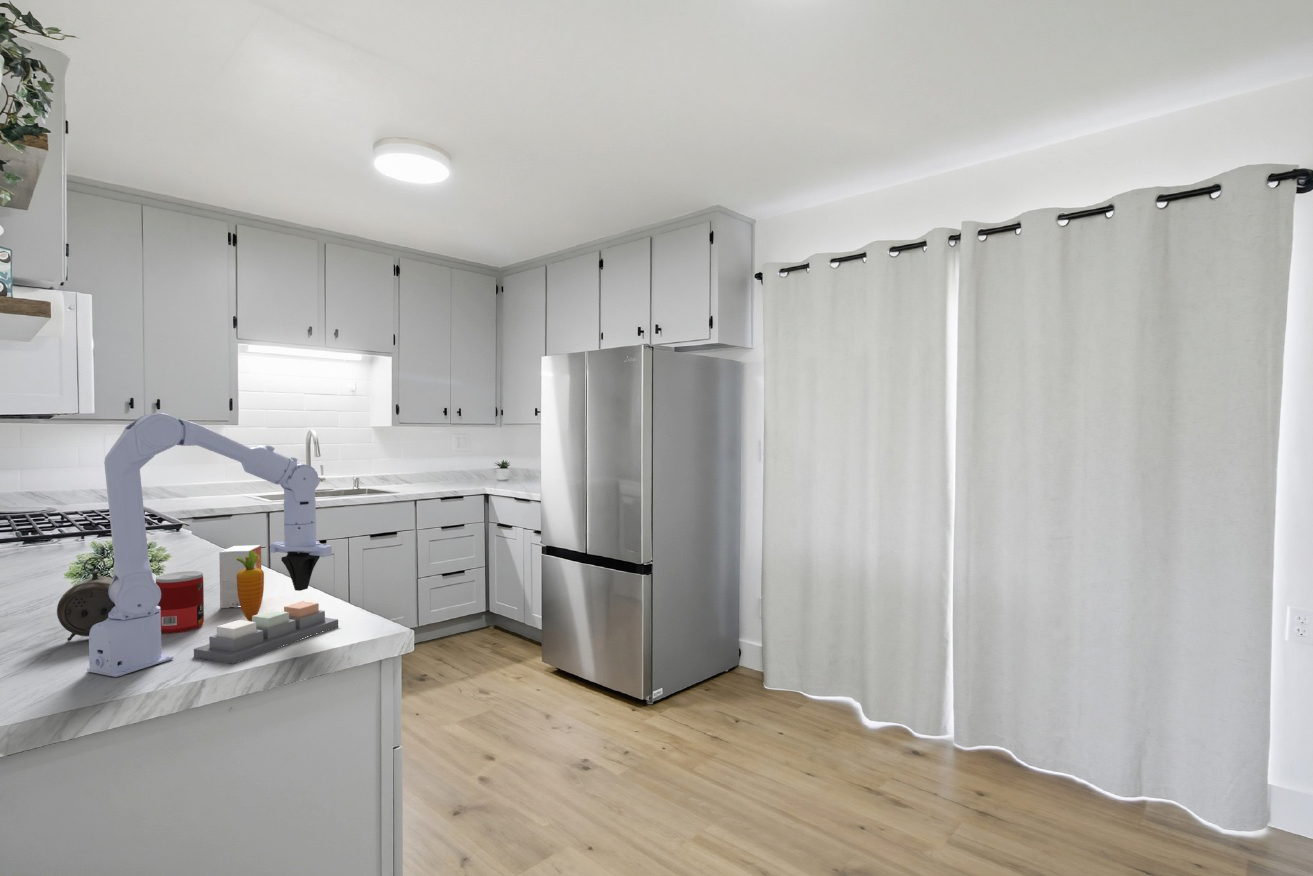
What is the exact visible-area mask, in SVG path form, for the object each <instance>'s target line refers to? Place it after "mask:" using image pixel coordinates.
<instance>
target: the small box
mask: <svg viewBox="0 0 1313 876" xmlns="http://www.w3.org/2000/svg"><path fill="white" fill-rule="evenodd" d="M249 551H254V554H257V555H258V557H257V559H256V561H255V564H254V568H259V569H262V545H261V544H255V545H250V544H249V545H233V546H230V547H228V548H225V549H224V550H222V551H220V552H219V605H220V606H219V609H230V608H229V607H234V608H239V607H238V606H240V602H239V598H238V591H237V573H238V572H239V571H241V570H243V569H246V568H245V566H244V565H243V564H242V563H241V562H240V561H238V560H236V559H237V558H238V557H239V558H242V559H243V560H244V561H246V559H245V556H248V557H249ZM249 559H250V557H249Z"/></svg>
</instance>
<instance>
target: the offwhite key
mask: <svg viewBox="0 0 1313 876" xmlns="http://www.w3.org/2000/svg"><path fill="white" fill-rule="evenodd" d="M254 632H256V622H251V621H248V620H243V619H238V620H234V621H231V622H227V623H224V624H221V625H217V626H216V634H217V637H223V638H229V639H235V638H239V637H242V636H245V635H248V634H251V633H254Z"/></svg>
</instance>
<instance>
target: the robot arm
mask: <svg viewBox="0 0 1313 876" xmlns="http://www.w3.org/2000/svg"><path fill="white" fill-rule="evenodd" d="M176 446H182V447H183V446H184V447H185V446H192V447H193V446H194V447H195V446H198V447H201V448H203V449H206V450H208V451H210V452H214V453H216V454H217V455H218V454H219V455H221V456H224V457H226V458H228V459H231V460H234V461H237V462H240V463H241V465H242V468H243V471H244V472H245V473H248V474H249V475H252V476H255V477H257V478H260V479H262V480H264V481H266V482H270V483H271V484H274V485H278V486H279V485H280V487H281V488H282V489H283V531H284V532H283V534H284V535H283V536H284V537H283V539H284V541H274V542H270V547H269V548H270V553H273V554H274V553H284V554H286V555H285V556H281V557H280V558H281V562H282V563H283V565H284V566H285V568H286V570H287V571H288V574H289V576H290V579H291V582H292V585H293V587H294V591H298V592H301V591H304V590H308V589H309V584H310V582H311V581H310V580H311V577H312V573H313V571H314V569H315V567H316V565H317V563H318V561H319V559H320V558H326V557H329V556H332V553H333V551H332V545H329V544H328V545H326V544H323V543H321V542H320V541H319V540H317V514H316V513H317V508H316V504H317V503H316V489H317V487H318V486H319V484H320V481H321V478H320V477H319V474H318V472H317V470H316V469H315V468H314V467H313V466H312V465H309V464H302V463H300V462H298V458H296V457H293V456H291V457H288V456H287V455H283V454H282V453H279V452H277V451H275V447H274V446H272V445H269V444H267V445H266V446H264V445H257V446H253V447H248V446H246V445H244V444H242V443H240V442H237V441H236V440H234V439H231V438H229V437H227V436H225V435H222V434H221V433H219V432H216V431H214V430H212V429H210V428H209V427H206V426H204V425H201V424H198V423H196V422H192V421H190V420H185V419H182V418H176V417H174V416H173V415H171V414H167V413H148V414H144V415H142V416H140V417H138V418H137V419H135V420H134V421H132V422H130V423H129V424H128V425H126V426H125V427H124V429H123V431H122V433H121V434H120V435H119V437H118V439H117V440H116V442H114V445H112V447H111V448H110V449H109V450H108V452H107V454H106V455H105V458H104V461H103V463H104V471H105V472H104V474H105V482H106V495H107V503H108V511H109V522H110V533H111V534H110V535H111V542H112V552H113V566H112V567H113V569H112V571H113V577H112V578H113V580H112V582H111V584H110V586H109V591H108V593H109V597H110V599H111V601H113V602H114V603H115V605H116V606H114V607H113V609H112V610H111V612H109V613H108V617H109V618H107V619H106V620H104V621H103V622H100V623H97V624H95V625H93V626H92V628H91V630H90V633H89V637H88V657H89V658H88V661H89V662H88V663H89V665H88V666H89V667H88V668H86V671H87V672H89V673H95V674H99V675H102V676H103V675H104V676H109V677H113V678H117V677H121V676H124V675H127V674H129V673H130V674H131V673H132V672H137V671H139V670H142V669H146V668H149V667H152V666H156V665H158V664H161V663H164V662H167V661H171V660H173V659H174V656H173V655H171V654H163V653H162V633H161V611H160V610H161V609H160V606H157V605H158V604H159V602H160V599H161V591H160V588H159V586H158V585H157V584H156V581H155V580H154V577H153V570H152V566H151V562H150V558H149V550H148V540H147V529H146V521H145V509H144V508H145V507H144V499H143V490H142V479H141V468H143V467H144V466H145V465H146V464H147V463H148V462H150V461H151V460H152V459H153V458H154V457H155V456H156V455H159V454H161V453H163V452H165V451H167V450H170V449H171V448H173V447H176Z"/></svg>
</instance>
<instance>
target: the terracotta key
mask: <svg viewBox="0 0 1313 876" xmlns="http://www.w3.org/2000/svg"><path fill="white" fill-rule="evenodd" d="M319 605H320V604H319V602H312V601H305V600H301V601H299V602H296V603H292V604H287V605H285V606H283V612H289V616H290V617H298V618H301V617H304V616H307V615H311V614H314V613H317V612H319V610H320V606H319Z"/></svg>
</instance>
